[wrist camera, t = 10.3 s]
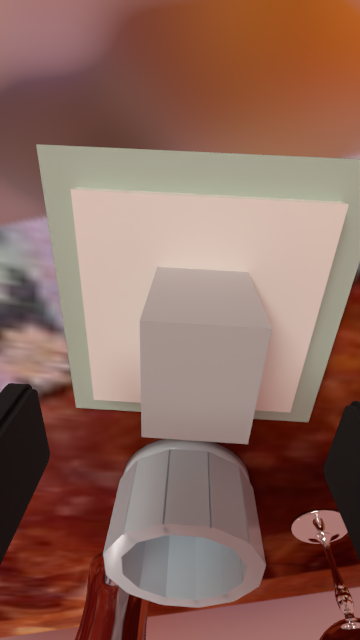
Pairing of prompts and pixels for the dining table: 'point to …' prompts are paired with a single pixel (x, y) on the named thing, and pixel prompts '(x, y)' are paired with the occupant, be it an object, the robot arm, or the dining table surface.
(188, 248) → the cover
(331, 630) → the wineglass
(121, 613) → the beer glass
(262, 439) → the dining table surface
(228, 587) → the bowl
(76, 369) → the mat
